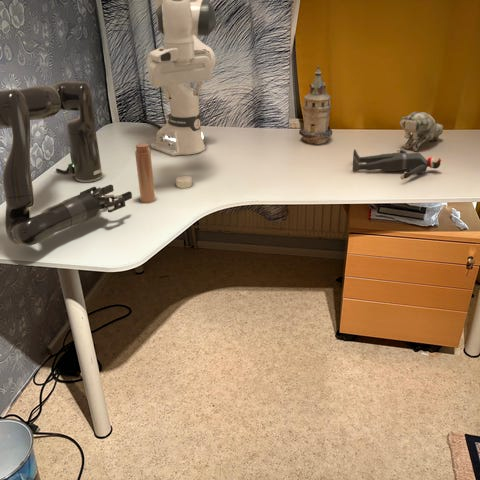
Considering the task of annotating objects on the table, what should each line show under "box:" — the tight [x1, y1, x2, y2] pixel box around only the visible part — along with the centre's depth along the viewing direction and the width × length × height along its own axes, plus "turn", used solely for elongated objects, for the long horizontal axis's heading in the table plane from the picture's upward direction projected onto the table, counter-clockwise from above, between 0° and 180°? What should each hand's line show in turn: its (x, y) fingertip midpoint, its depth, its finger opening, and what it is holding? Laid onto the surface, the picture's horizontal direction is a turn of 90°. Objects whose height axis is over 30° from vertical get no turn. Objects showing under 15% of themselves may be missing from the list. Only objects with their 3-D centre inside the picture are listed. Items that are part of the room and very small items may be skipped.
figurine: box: [399, 111, 444, 152], centre depth 210 cm, size 10×19×20 cm
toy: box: [352, 148, 442, 180], centre depth 190 cm, size 26×6×30 cm
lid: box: [175, 175, 193, 189], centre depth 182 cm, size 5×5×2 cm
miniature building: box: [298, 65, 333, 145], centre depth 213 cm, size 13×14×30 cm
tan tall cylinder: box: [134, 142, 156, 204], centre depth 168 cm, size 5×5×18 cm
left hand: (121, 191), depth 163 cm, fingers open, 8 cm apart
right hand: (182, 97), depth 168 cm, fingers open, 8 cm apart
